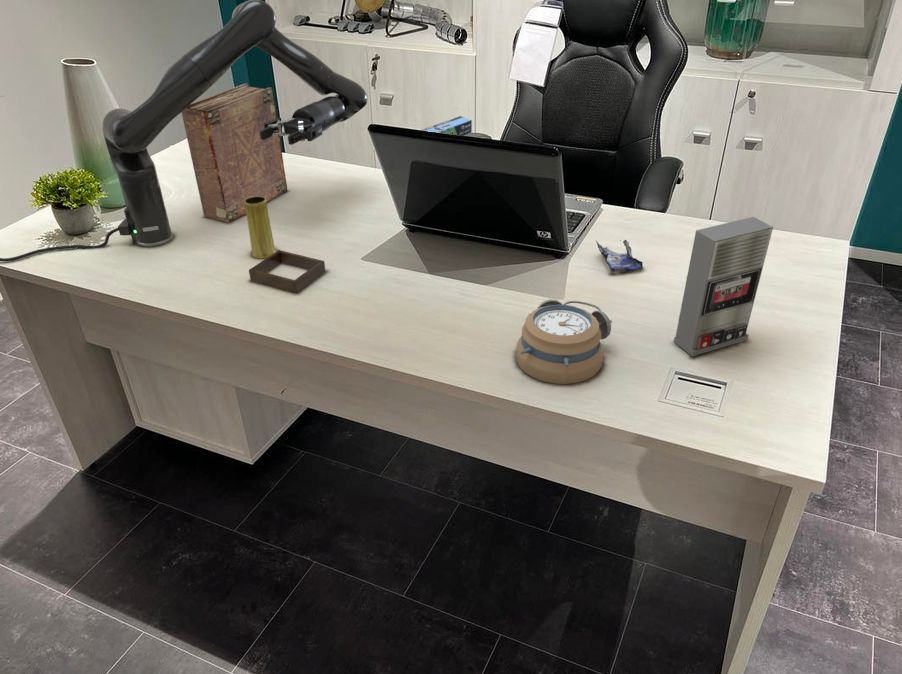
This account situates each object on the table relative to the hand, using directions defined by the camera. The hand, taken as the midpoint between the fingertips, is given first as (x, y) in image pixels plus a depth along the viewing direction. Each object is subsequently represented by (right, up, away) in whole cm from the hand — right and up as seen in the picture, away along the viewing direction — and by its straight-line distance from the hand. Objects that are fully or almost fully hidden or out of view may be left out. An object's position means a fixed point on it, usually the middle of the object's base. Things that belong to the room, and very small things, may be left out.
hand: (275, 138), depth 186 cm
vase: (-4, -27, +8) cm, 28 cm away
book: (-15, -9, +33) cm, 37 cm away
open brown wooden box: (+4, -34, -3) cm, 34 cm away
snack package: (+83, -31, -1) cm, 89 cm away
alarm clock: (+65, -53, -31) cm, 90 cm away
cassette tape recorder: (+95, -51, -30) cm, 112 cm away
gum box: (+41, -11, +28) cm, 51 cm away
